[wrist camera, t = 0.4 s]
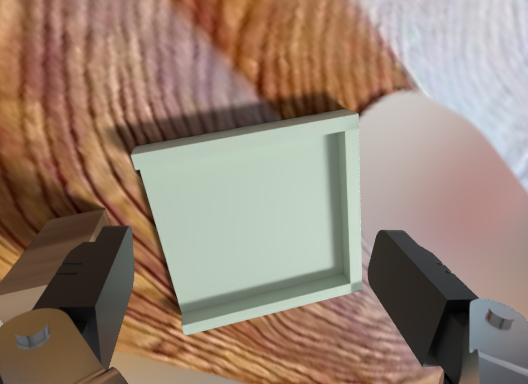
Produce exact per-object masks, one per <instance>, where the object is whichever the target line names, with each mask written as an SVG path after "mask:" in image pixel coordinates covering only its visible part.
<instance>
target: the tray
mask: <svg viewBox="0 0 528 384" xmlns="http://www.w3.org/2000/svg"><path fill="white" fill-rule="evenodd" d="M131 158H132V161H133V164H134V168H135V170H139V169H140V172H141V176H142V179H143V183H144V186H145V189H146V193H147V196H148V200H149V203H150V207H151V210H152V213H153V217H154V220H155V224H156V227H157V230H158V234H159V237H160V241H161V244H162V248H163V251H164V254H165V258H166V261H167V265H168V268H169V272H170V275H171V278H172V282H173V285H174V289H175V292H176V296H177V299H178V302H179V306H180V309H181V313H182V329H183V332H184V336H185V335H189V334H192V333H196V332H200V331H204V330H208V329H212V328H216V327H220V326H224V325H228V324H232V323H236V322H239V321H243V320H247V319H251V318H255V317H259V316H263V315H267V314H271V313H275V312H279V311H282V310H286V309H290V308H294V307H298V306H302V305H306V304H310V303H314V302H318V301H322V300H326V299H329V298H333V297H337V296H341V295H345V294H349V293H353V292H357V291H361V290H362V264H361V214H360V169H359V168H360V167H359V116H358V113H355V112H353V111H350V110H348V109H341V110H336V111H330V112H325V113H319V114H313V115H308V116H302V117H297V118H291V119H285V120H280V121H274V122H269V123H263V124H257V125H252V126H246V127H241V128H235V129H229V130H224V131H218V132H213V133H207V134H201V135H196V136H190V137H185V138H179V139H173V140H168V141H162V142H157V143H151V144H145V145H140V146H135V147H134V149H133V152H132V154H131Z"/></svg>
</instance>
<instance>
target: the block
mask: <svg viewBox="0 0 528 384" xmlns="http://www.w3.org/2000/svg"><path fill="white" fill-rule="evenodd" d="M105 225H110V226H111V223H110V220H109V218H108V215H107V212H106V209H105V208H104V209H99V210H94V211H89V212H84V213H79V214H74V215H69V216H64V217H59V218H54V219H49V220H48V221H47V223H46V224H45V225H44V227H43V228H42V229H41V231H40V232H39V233H38V234H37V236H36V237H35V238H34V240H33V241H32V242H31V244H30V245H29V246H28V247H27V249H26V250H25V251H24V253H23V254H22V255H21V257H20V258H19V259H18V260H17V262H16V263H15V264H14V266H13V267H12V268H11V269H10V271H9V272H8V273H7V275H6V276H5V277H4V279H3V280H2V281H1V282H0V319H1V321H2V322H3V324H4V323H6V322H7V321H9V320H10V319H12V318H14V317H16V316H18V315H20V314H22V313H25V312H28V311H31V310H32V309H33V307H34V306H35V304H36V303H37V301H38V300H39V298H40V296H41V295H42V293H43V292H44V290H45V289H46V287H47V286H48V284H49V282H50V281H51V279H52V278H53V276H55V274H56V272H57V270H58V268H59V267H60V266H62V262H63V261H64V259H65V258H66V256H67V255H68V253H69V252H70V251H71V250H72V249H74V248H75V247H77V246H78V245H80V244H81V243H82V242H95V240H96V238H97V236H98V235H99V233H100V231H101V229H102V227H103V226H105Z"/></svg>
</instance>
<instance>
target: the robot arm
mask: <svg viewBox="0 0 528 384" xmlns="http://www.w3.org/2000/svg"><path fill="white" fill-rule="evenodd" d="M368 281H369V284H370V287H371V288H372V290H373V291H374V293H375V294H376V296H377V298H378V299H379V301H380V302H381V304H382V305H383V307H384V308H385V310H386V311H387V313H388V315H389V316H390V318H391V319H392V321H393V322H394V324H395V325H396V327H397V328H398V330H399V332H400V333H401V335H402V336H403V338H404V339H405V341H406V342H407V344H408V345H409V347H410V348H411V350H412V352H413V353H414V355H415V356H416V358H417V359H418V361H419V362H420V364H421V365H422V367H430V366H441V367H442V369H443V372H442V374H441V377H440V380H439V384H528V321H527V320H526V318H525V317H523V316H522V315H521V314H520V313H519V312H517V311H516V310H514V309H513V308H511V307H509V306H507V305H505V304H502V303H500V302H497V301H494V300H489V299H479V298H478V297H477V296H476V295H475V294H474V293H473V292H472V291H471V290H470V289H469V288H468V287H467V286H466V285H465V284H464V283H463V282H461V280H459V278H457V277H456V276H455V275H454V274H453V273H451V271H450V270H449V269H448V268H447V267H446V266H445V265H443V264H442V262H441V261H440V260H439V259H438V258H437V257H436V256H435V255H434V254H433V253H431V252H429V251H428V250H426V249H424V248H423V247H421V246H419V245H418V244H417V243H416V242H415V241H414V240H413V239H412V238H411V237H410V236H409V235H408V234H407V233H406V232H405V231H403V230H380V231H379V232H378V234H377V236H376V239H375V243H374V247H373V251H372V255H371V259H370V263H369V267H368ZM133 282H134V257H133V239H132V229H131V226H110V225H105V226H103V227H102V229H101V231H100V233H99V235H98V236H97V238H96V240H95V242H82V243H81V244H80V245H78V246H77V247H75V248H74V249H72V250H71V251H70V252H69V253H68V255H67V256H66V258H65V259H64V261H63V262H62V266H60V267H59V268H58V270H57V272H56V274H55V276H53V278H52V279H51V281H50V282H49V284H48V286H47V287H46V289H45V290H44V292H43V293H42V295H41V296H40V298H39V300H38V301H37V303H36V304H35V306H34V307H33V309H32V310H31V311H28V312H25V313H22V314H20V315H18V316H16V317H14V318H12V319H10V320H9V321H7V322H6V323H4V324H3V325H2V326H1V327H0V384H128V383H127V381H126V380H125V379H124V377H123V376H122V374H121V373H120V372H119V371H118V370H117V369H116V368H114V367H111V368H110V369H108V368H109V365H110V362H111V358H112V355H113V352H114V348H115V345H116V342H117V338H118V335H119V332H120V328H121V325H122V322H123V318H124V315H125V312H126V308H127V305H128V302H129V298H130V295H131V292H132V288H133Z"/></svg>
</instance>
